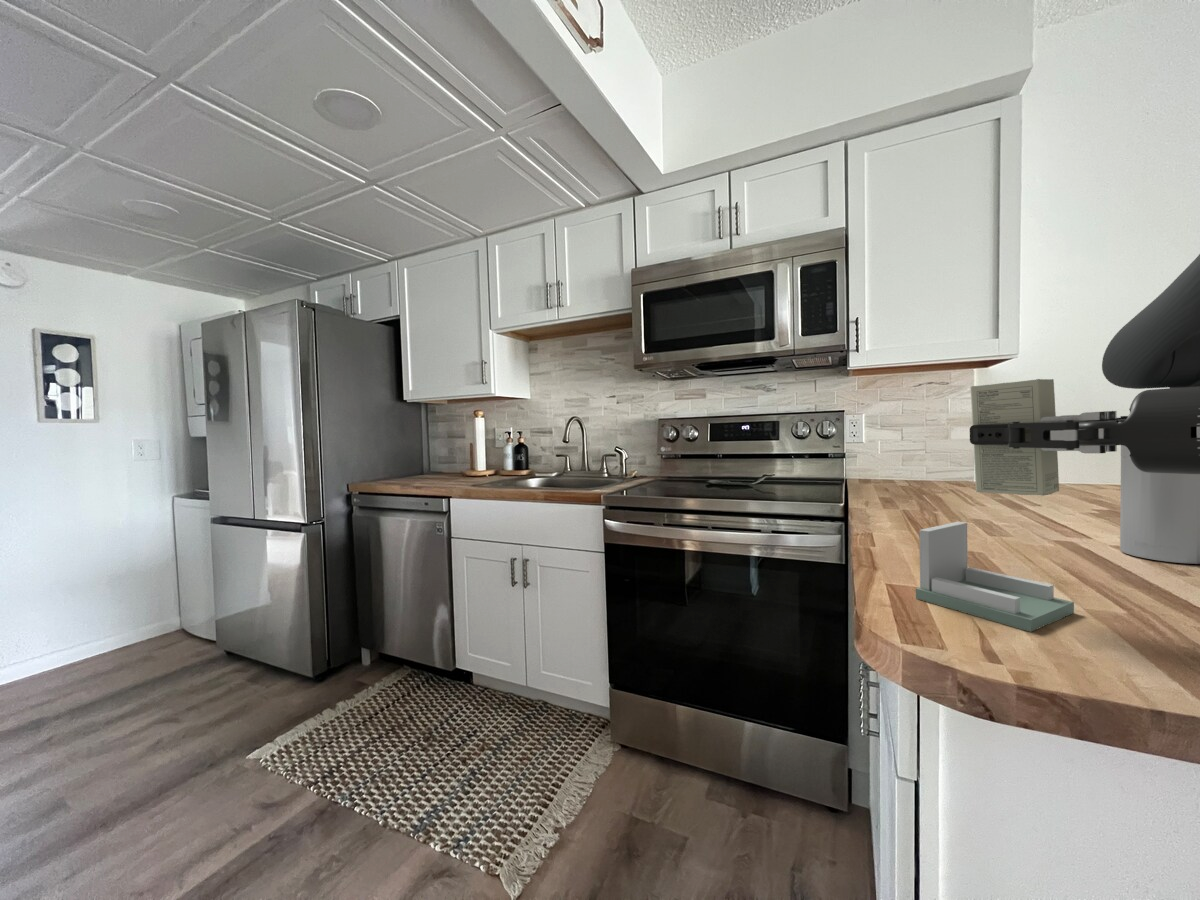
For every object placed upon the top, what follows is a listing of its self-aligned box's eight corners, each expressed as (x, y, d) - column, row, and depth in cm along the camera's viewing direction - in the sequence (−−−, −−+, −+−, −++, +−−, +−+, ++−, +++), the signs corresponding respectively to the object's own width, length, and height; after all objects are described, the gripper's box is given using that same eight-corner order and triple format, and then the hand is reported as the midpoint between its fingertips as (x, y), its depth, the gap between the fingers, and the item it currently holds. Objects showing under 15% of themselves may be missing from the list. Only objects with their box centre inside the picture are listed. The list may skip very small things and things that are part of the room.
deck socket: (959, 584, 61) (958, 520, 61) (1074, 613, 51) (1074, 536, 51) (916, 598, 57) (915, 530, 57) (1030, 632, 47) (1030, 549, 47)
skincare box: (1060, 493, 51) (1058, 378, 51) (1043, 497, 49) (1041, 378, 49) (989, 488, 57) (987, 385, 56) (971, 492, 54) (969, 384, 54)
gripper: (1247, 384, 43) (1014, 400, 58) (1193, 384, 37) (947, 402, 52) (1247, 468, 43) (1015, 461, 58) (1193, 483, 37) (948, 471, 52)
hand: (984, 433), depth 55 cm, fingers closed on skincare box, 4 cm apart
